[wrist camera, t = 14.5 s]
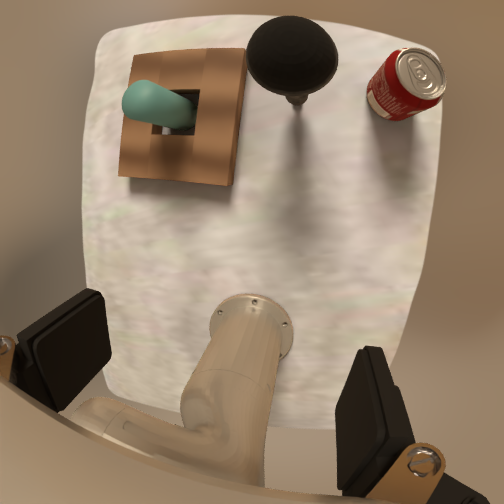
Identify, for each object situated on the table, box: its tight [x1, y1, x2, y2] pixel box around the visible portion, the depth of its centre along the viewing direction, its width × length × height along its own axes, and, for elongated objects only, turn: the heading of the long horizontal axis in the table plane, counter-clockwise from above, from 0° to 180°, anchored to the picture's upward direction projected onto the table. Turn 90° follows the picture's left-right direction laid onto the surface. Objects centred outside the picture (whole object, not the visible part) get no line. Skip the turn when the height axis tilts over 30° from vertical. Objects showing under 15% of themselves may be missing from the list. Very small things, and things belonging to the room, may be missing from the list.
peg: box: [122, 80, 198, 131], centre depth 31 cm, size 4×4×12 cm
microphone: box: [246, 16, 338, 105], centre depth 24 cm, size 7×7×20 cm
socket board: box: [118, 48, 247, 186], centre depth 35 cm, size 18×16×3 cm
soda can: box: [367, 48, 447, 121], centre depth 26 cm, size 7×7×12 cm
